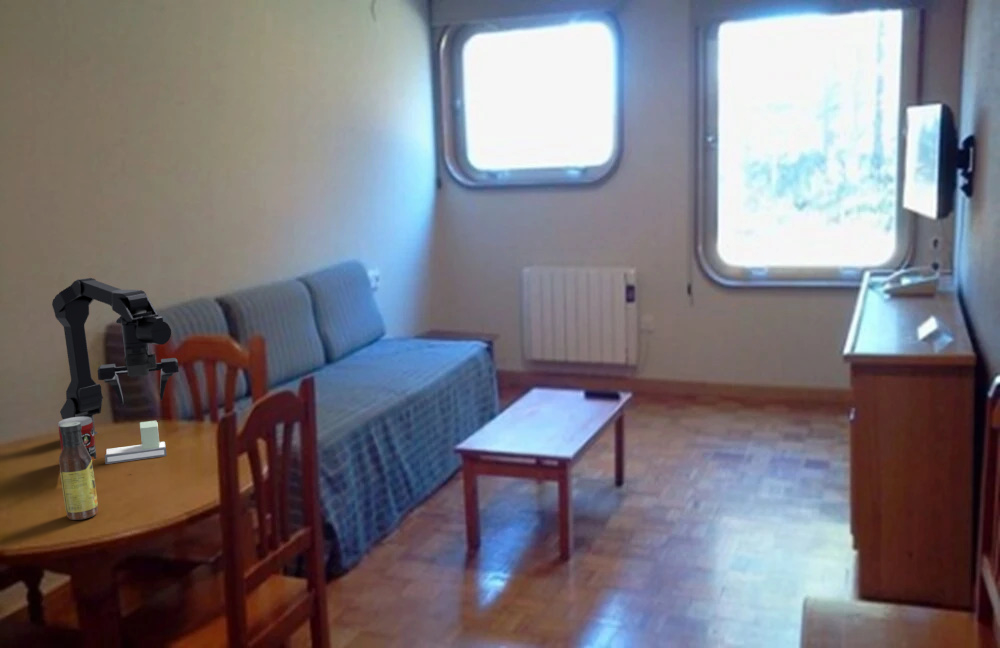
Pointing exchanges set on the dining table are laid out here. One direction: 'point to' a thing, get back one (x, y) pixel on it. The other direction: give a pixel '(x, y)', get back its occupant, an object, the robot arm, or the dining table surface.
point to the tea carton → (149, 435)
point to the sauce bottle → (77, 474)
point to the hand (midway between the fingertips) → (142, 402)
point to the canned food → (83, 433)
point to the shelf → (133, 453)
